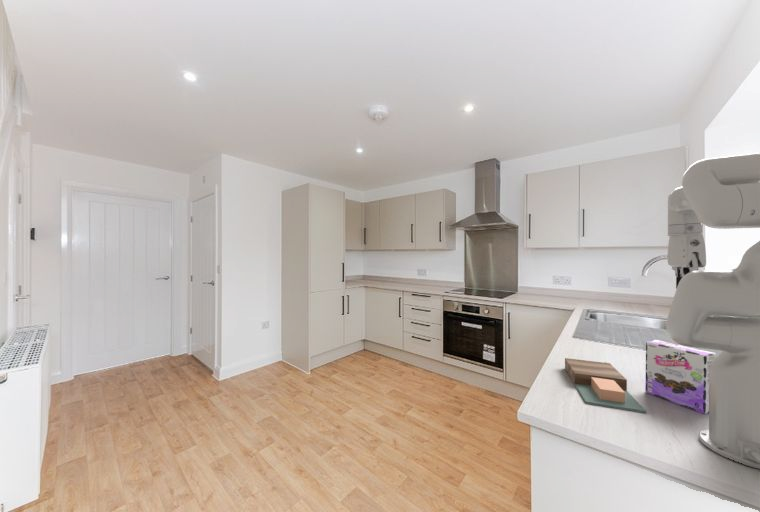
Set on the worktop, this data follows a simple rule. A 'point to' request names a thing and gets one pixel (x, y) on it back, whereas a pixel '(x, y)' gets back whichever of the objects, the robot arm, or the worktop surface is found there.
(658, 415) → the worktop surface
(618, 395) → the peach rectangular block
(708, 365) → the candy box
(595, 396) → the mat
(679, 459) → the worktop surface
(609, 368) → the brown block
